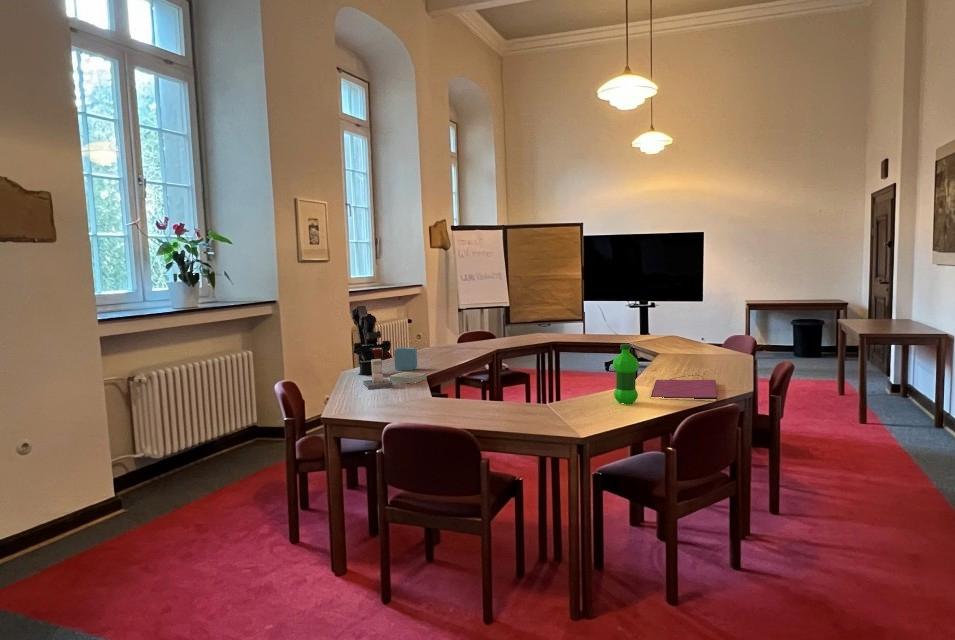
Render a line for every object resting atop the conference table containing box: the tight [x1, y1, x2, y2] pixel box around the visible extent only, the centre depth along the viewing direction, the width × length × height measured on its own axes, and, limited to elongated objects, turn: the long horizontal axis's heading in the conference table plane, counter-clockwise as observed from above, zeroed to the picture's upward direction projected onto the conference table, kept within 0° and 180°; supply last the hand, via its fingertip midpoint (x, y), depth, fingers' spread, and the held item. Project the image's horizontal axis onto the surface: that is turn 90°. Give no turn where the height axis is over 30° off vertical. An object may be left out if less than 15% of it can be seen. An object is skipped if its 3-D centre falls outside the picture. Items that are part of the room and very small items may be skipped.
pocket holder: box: [363, 378, 393, 390], centre depth 328 cm, size 12×12×2 cm
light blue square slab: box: [393, 347, 418, 371], centre depth 370 cm, size 12×4×12 cm, turn 88°
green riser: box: [389, 371, 427, 384], centre depth 339 cm, size 14×12×3 cm
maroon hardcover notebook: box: [650, 374, 718, 400], centre depth 300 cm, size 40×4×27 cm
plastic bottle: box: [612, 343, 640, 405], centre depth 277 cm, size 10×10×25 cm
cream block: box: [370, 358, 384, 384], centre depth 327 cm, size 4×4×13 cm
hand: (374, 360), depth 332 cm, fingers open, 9 cm apart
